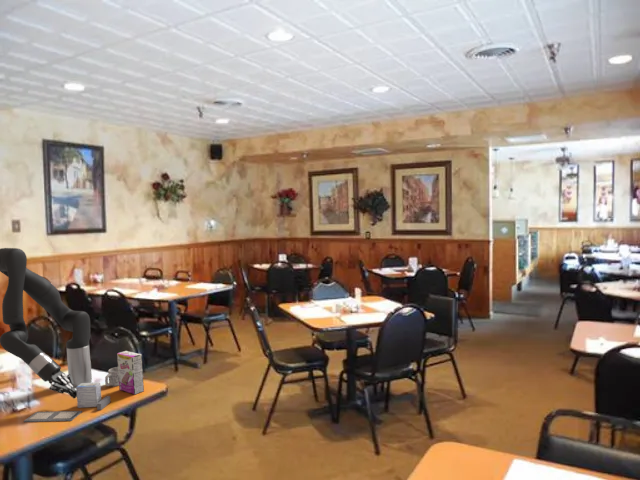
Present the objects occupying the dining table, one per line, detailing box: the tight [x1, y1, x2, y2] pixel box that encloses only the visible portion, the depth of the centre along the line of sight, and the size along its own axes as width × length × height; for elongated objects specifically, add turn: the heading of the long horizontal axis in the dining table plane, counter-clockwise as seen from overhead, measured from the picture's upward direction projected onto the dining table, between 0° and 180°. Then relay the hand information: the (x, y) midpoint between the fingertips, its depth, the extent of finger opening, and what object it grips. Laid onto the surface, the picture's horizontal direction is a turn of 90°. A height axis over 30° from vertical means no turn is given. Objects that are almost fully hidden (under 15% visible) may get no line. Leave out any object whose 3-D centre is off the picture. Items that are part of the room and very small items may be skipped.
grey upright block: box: [75, 381, 103, 409], centre depth 198 cm, size 8×4×9 cm, turn 92°
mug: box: [104, 366, 119, 387], centre depth 221 cm, size 10×7×7 cm
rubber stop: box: [96, 395, 111, 411], centre depth 197 cm, size 8×2×2 cm, turn 178°
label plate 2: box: [47, 410, 83, 422], centre depth 188 cm, size 8×9×1 cm
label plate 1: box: [23, 410, 60, 423], centre depth 188 cm, size 8×9×1 cm
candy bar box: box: [116, 350, 145, 395], centre depth 213 cm, size 11×5×16 cm, turn 56°
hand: (76, 396), depth 197 cm, fingers closed
